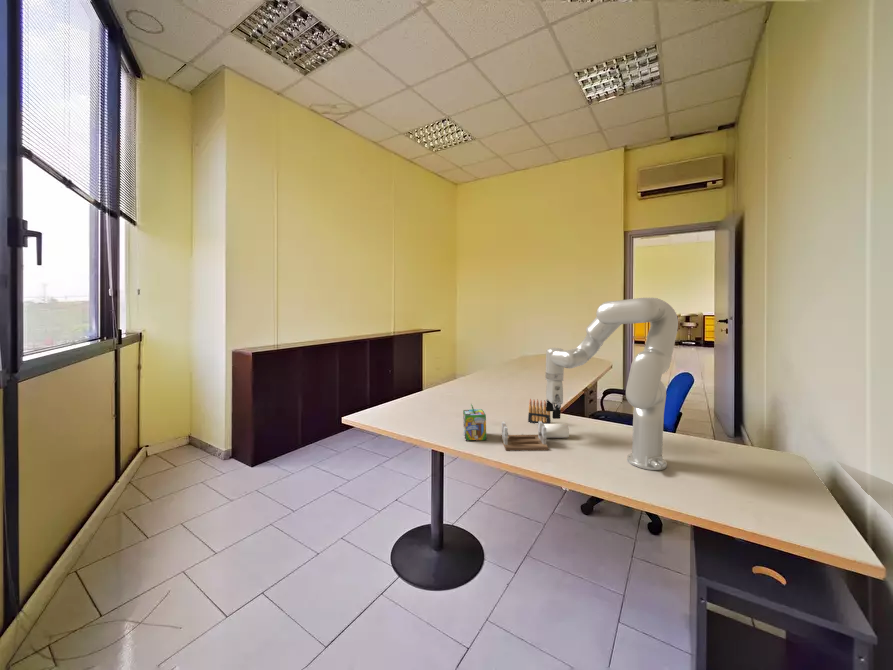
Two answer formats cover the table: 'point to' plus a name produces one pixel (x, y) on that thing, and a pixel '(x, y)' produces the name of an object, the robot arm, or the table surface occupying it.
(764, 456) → the table surface
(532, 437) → the holder
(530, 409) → the ammunition clip
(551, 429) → the roll
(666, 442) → the table surface
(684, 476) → the table surface
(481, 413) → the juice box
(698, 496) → the table surface
